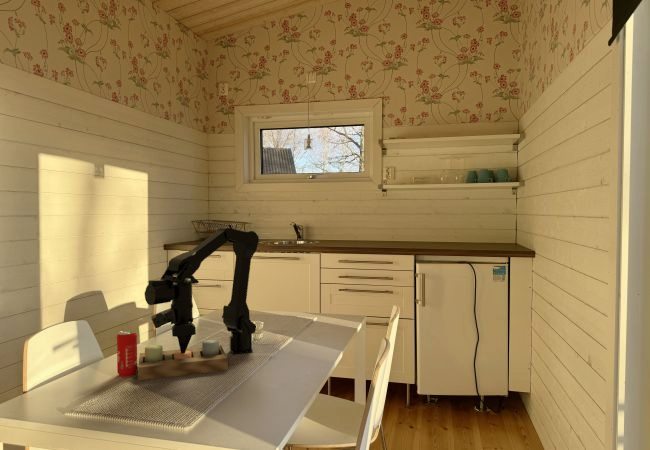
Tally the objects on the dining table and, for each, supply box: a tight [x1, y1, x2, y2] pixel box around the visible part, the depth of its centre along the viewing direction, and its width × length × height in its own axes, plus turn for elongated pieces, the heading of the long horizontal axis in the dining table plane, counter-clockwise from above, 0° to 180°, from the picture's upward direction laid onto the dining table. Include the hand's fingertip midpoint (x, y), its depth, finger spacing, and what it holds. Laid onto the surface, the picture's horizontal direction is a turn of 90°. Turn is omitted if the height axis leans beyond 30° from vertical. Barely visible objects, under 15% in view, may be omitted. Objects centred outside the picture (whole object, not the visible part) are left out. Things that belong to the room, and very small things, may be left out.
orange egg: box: [174, 351, 191, 359], centre depth 139 cm, size 5×5×4 cm
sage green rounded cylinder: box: [201, 339, 220, 357], centre depth 142 cm, size 5×5×4 cm
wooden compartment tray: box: [137, 345, 229, 381], centre depth 139 cm, size 24×14×4 cm, turn 109°
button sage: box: [144, 344, 164, 362], centre depth 136 cm, size 5×5×4 cm
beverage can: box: [116, 329, 138, 378], centre depth 133 cm, size 5×5×12 cm
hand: (182, 353), depth 139 cm, fingers closed, pressing on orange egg
